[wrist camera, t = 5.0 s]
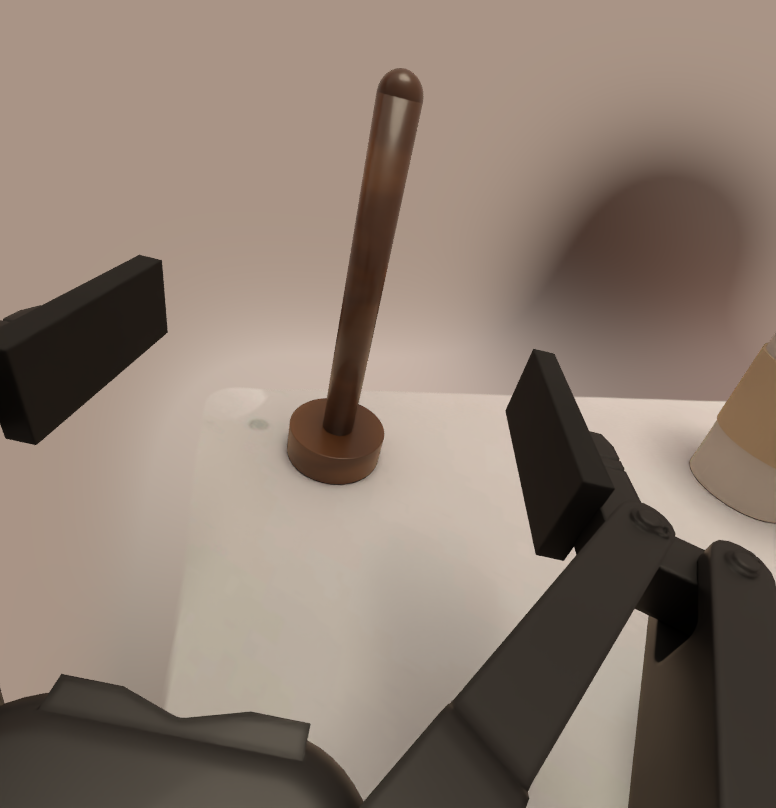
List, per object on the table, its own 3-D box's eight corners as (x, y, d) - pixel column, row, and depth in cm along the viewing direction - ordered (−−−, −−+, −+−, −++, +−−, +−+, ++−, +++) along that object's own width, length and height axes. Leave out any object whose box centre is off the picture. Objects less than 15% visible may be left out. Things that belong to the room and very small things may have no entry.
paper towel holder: (286, 483, 25) (336, 46, 14) (287, 419, 29) (325, 49, 18) (384, 485, 26) (500, 91, 15) (371, 424, 31) (453, 84, 20)
